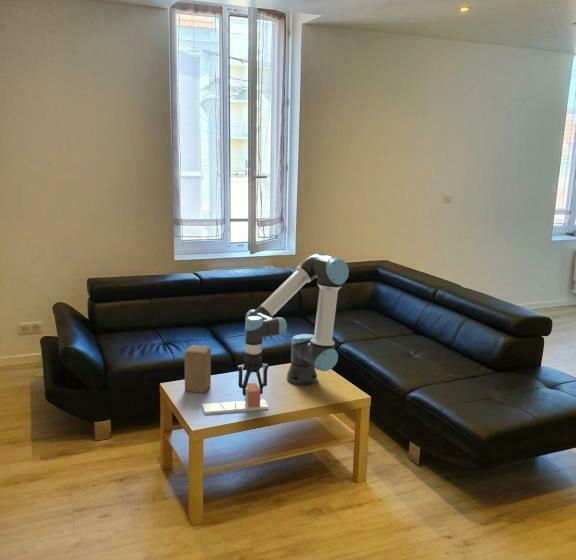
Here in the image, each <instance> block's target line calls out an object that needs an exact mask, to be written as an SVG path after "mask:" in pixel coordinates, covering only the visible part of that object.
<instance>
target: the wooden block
mask: <svg viewBox="0 0 576 560" xmlns="http://www.w3.org/2000/svg"><path fill="white" fill-rule="evenodd" d="M211 349H212V348H211V347H210V346H205V345H204V346H203V345H195V344H191V345H190V346H189V347H187V348H186V350H185V351H184V391H186V392H192V393H193V392H194V393H202V394H203V393H205V392H206V391H207V390H208V388H210V386H211V385H212V381H211V379H212V374H211V373H212V369H211V367H212V361H211V360H212V358H211V357H212V350H211Z"/></svg>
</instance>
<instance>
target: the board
mask: <svg viewBox="0 0 576 560" xmlns="http://www.w3.org/2000/svg"><path fill="white" fill-rule="evenodd" d="M202 409H203V413H204V415H216V414H226V413H227V414H229V413H238V412H251V411H253V412H254V411H263V410H269V405H268V403H267V401H266V400H265V399H264V398H263V399H261V398H260V408H253V409H249V408H248V406H247V404H246V403H245V400H240V401H239V400H238V401H237V400H235V401H226V402H225V401H224V402H211V403H210V402H209V403H202Z"/></svg>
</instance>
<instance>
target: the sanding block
mask: <svg viewBox="0 0 576 560" xmlns="http://www.w3.org/2000/svg"><path fill="white" fill-rule="evenodd" d="M258 386H259V384H257V382H252V383H251V382H250V383H249V382H248V383H247V389H248V397H247V403H246V404H247V406H248V408H249V409H253V408H260V400H261V394H260V389H259V387H258Z"/></svg>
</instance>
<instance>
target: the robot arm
mask: <svg viewBox="0 0 576 560" xmlns="http://www.w3.org/2000/svg"><path fill="white" fill-rule="evenodd" d="M349 271H350V269H349V266H348V264H347V262H346V261H345V260H344V259H341V258H339V257H337V256H333V255H328V254H326V253H315V254H312V255H310V256H309V257H306V259H304V260H303V261H302V262H300V263H299V264H298V265H297V266H296V267H295V269H294V272H293V273H292V274H291V275H290V276H289V277H288V278H287V279H286V280H285V281H283V282H282V283H281V284H280V285H279V286H278V288H277V289H275V290H274V292H272V294H270V295H269V297H268V298H267V299H266V300H265V301H263V302H262V303H261V304H260V305H259V306H258V307H257V308H255V309H253V308H252V309H249V310H248V311H247V312H246V314H245V324H244V325H245V326H244V342H245V343H244V351H245V352H244V362H243V364H238V365H237V368H238V382H237V383H238V384H237V385H238V388H239V389H242V395H243V396H244V401H245V403H247V397H248V389H247V383H249V379H250V376H251V374H253V373H256V378H257V381H258V387H259V389H260V395H263V392H264V391H263V389H264V387H267V386H268V369H269V364H268V363H263V339H264V338H268V337H274V336H280V335H282V334H285V333H286V331H287V329H288V328H287V326H288V324H287V322H286V319H285V318H284V317H279V316H278V317H277V316H276V317H274V315H275V314H277V313H278V311H280V310H281V308H282V307H284V306H285V305H286V303H287V302H288V301H289V300H291V299H292V298H293V296H294V295H296V294H297V293H298V291H300V290H301V289H302V287H304V286H305V284H307V283H310V282H312V281H313V280H314V279H317V281H316V284H317V286H318V288H319V291H318V300H317V309H316V315H315V316H316V317H315V325H314V334H310V333H300V334H296V335H294V336H293V337H291V343H290V344H291V352H290V366H289V368H288V371H287V373H286V380H287V382H288V383H291V384H293V385H298V386H309V385H313V384H315V383H317V381H318V374H317V371H316V370H318V371H321V372H329V371H330V370H332V369H333V367H335V366H336V364H337V362H338V359H339V354H338V351H337V350H336V349H335V345H336V344H335V343H336V342H335V341H334V340H333V335H334V326H335V318H336V311H337V301H338V294H339V290H340V289H341V288H342V286H343V284H344V283H346V281H347V280H348V278H349V274H350V273H349ZM261 368H262V369H263V370H262V377H261V372H260V369H261ZM244 369H245V370H246V371H245V375H244V380H243V373H244V372H243V370H244Z"/></svg>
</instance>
